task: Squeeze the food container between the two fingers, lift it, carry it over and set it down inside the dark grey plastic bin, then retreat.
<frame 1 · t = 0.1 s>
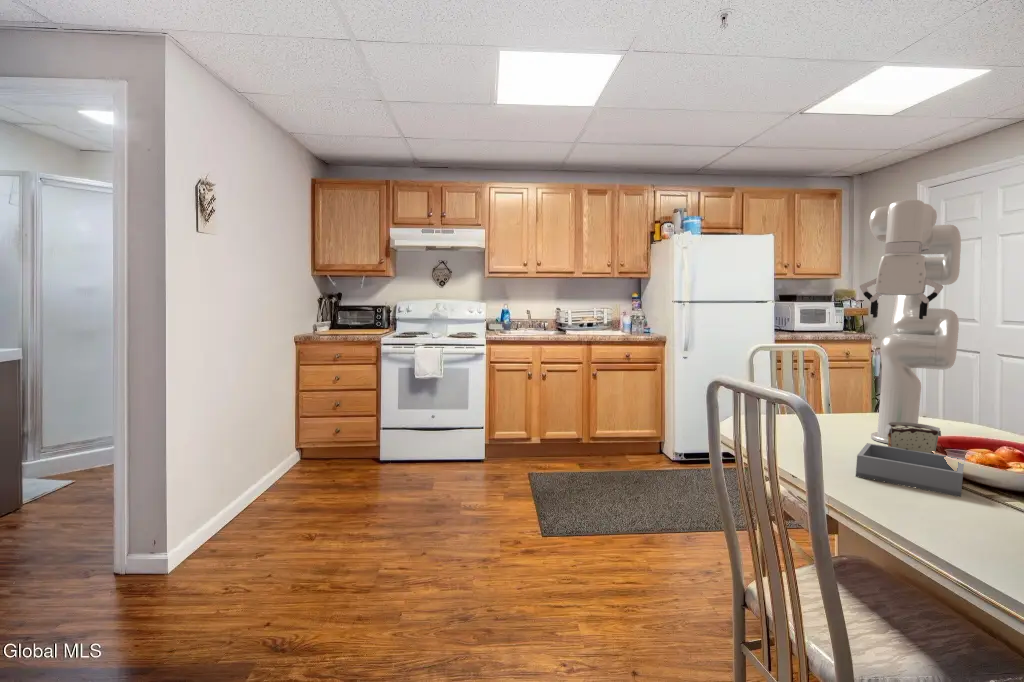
hand: (897, 318, 140), 37 cm above the table, tool pointing down, fingers open, 9 cm apart
food container: (904, 463, 139), on the table
bin: (908, 478, 127), on the table
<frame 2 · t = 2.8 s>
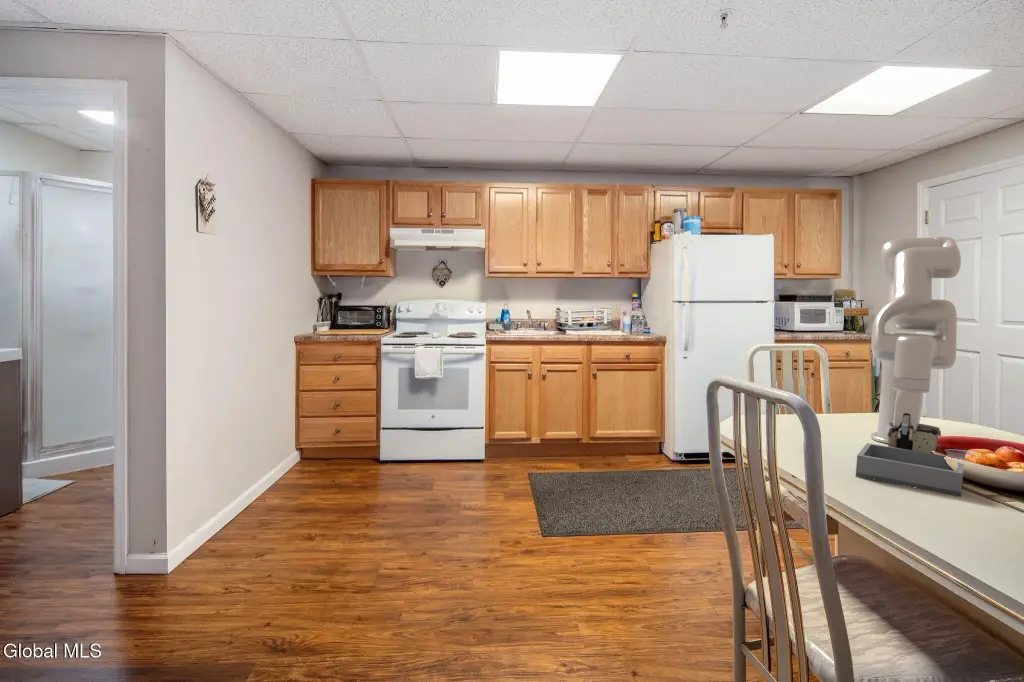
hand: (905, 451, 139), 3 cm above the table, tool pointing down, fingers open, 9 cm apart
food container: (904, 463, 139), on the table, touching gripper
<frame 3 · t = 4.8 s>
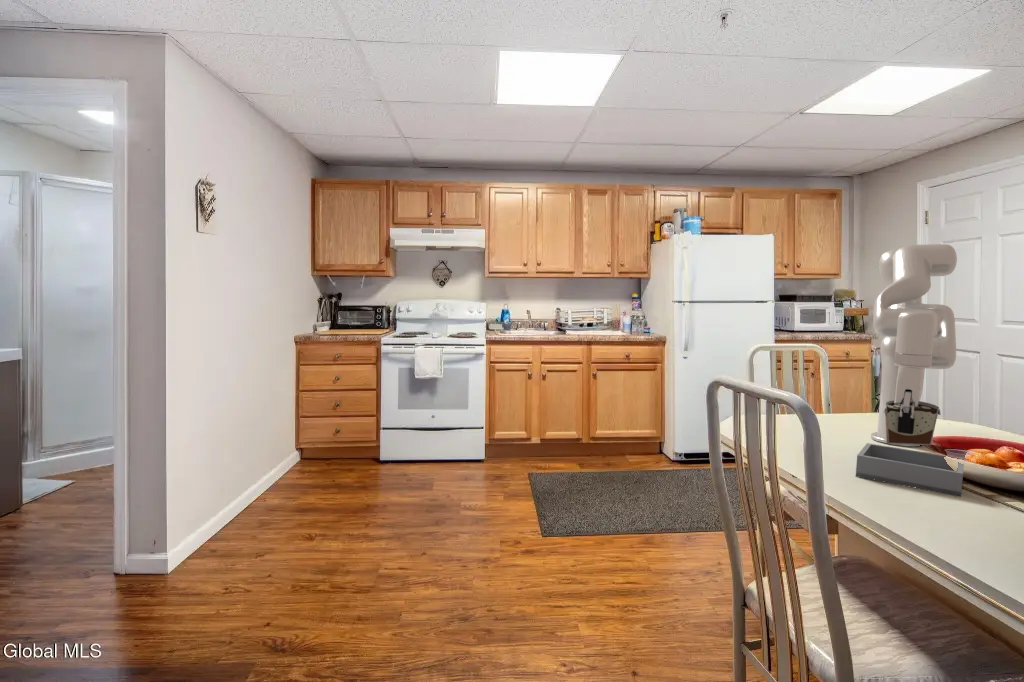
hand: (906, 429, 140), 8 cm above the table, tool pointing down, fingers closed on food container, 6 cm apart
food container: (904, 440, 141), point 5 cm above the table, touching gripper
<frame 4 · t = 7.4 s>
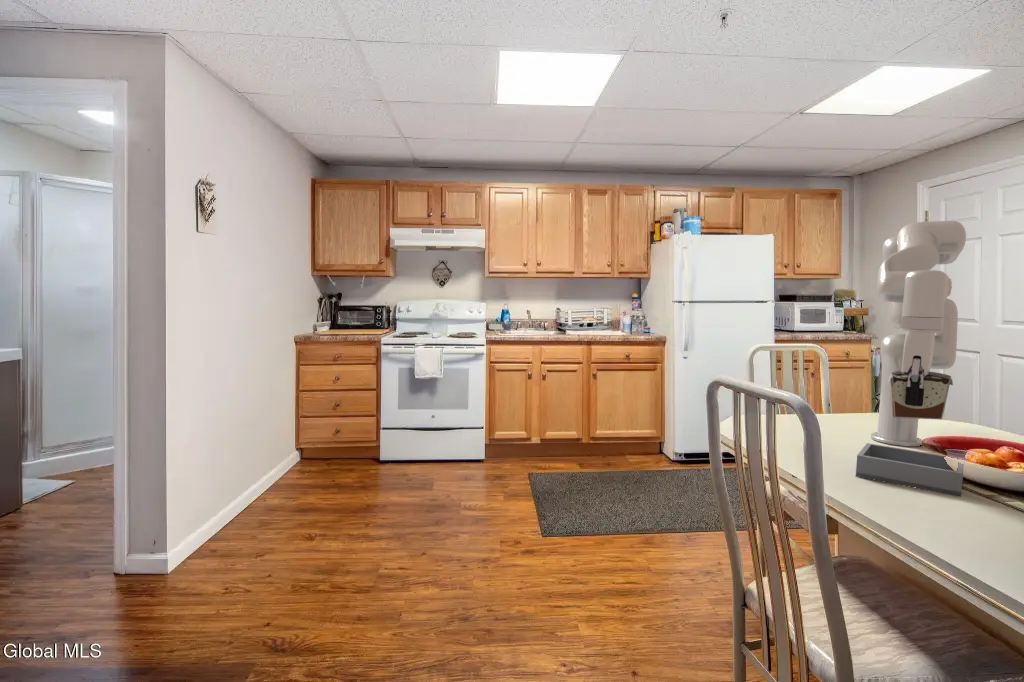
hand: (915, 402, 126), 18 cm above the table, tool pointing down, fingers closed on food container, 6 cm apart
food container: (912, 415, 127), point 14 cm above the table, touching gripper
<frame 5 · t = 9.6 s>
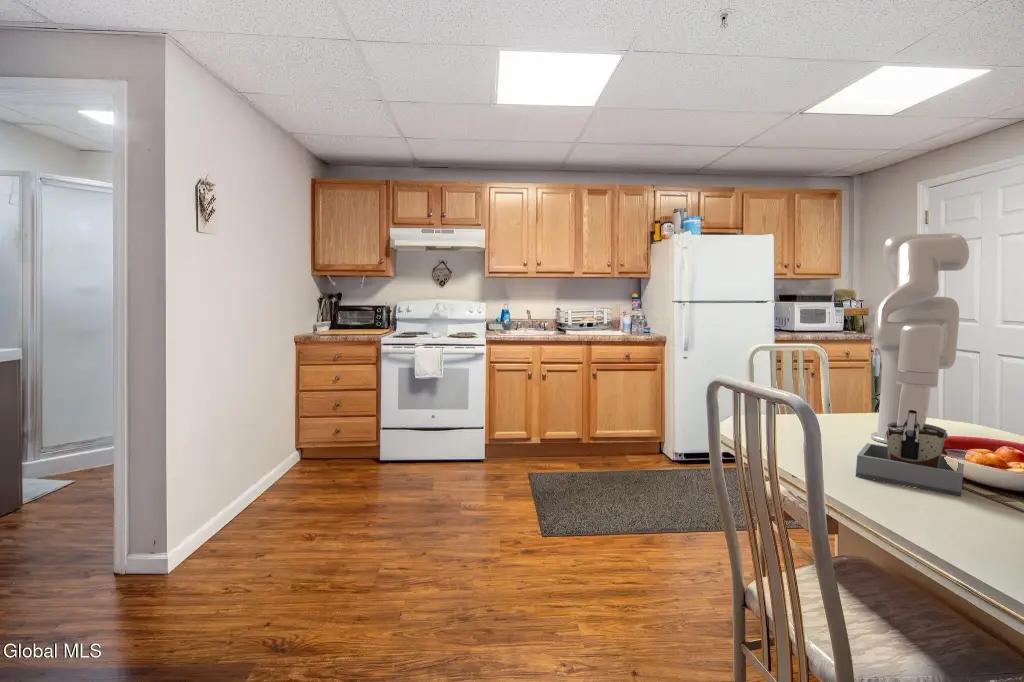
hand: (910, 454, 127), 6 cm above the table, tool pointing down, fingers closed on food container, 6 cm apart
food container: (907, 466, 128), point 2 cm above the table, touching gripper
when the fingers open (5 cm above the table, at t = 10.3 s): food container drops 1 cm, resting on bin.
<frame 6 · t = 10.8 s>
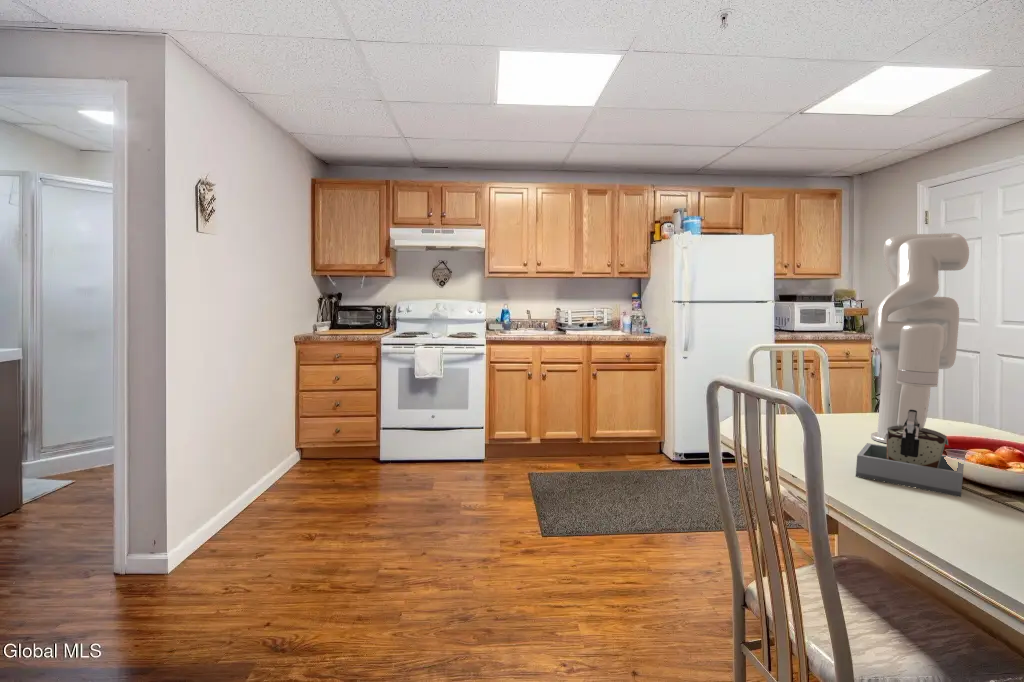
hand: (911, 451, 127), 6 cm above the table, tool pointing down, fingers open, 9 cm apart
food container: (907, 470, 129), point 1 cm above the table, touching bin, gripper
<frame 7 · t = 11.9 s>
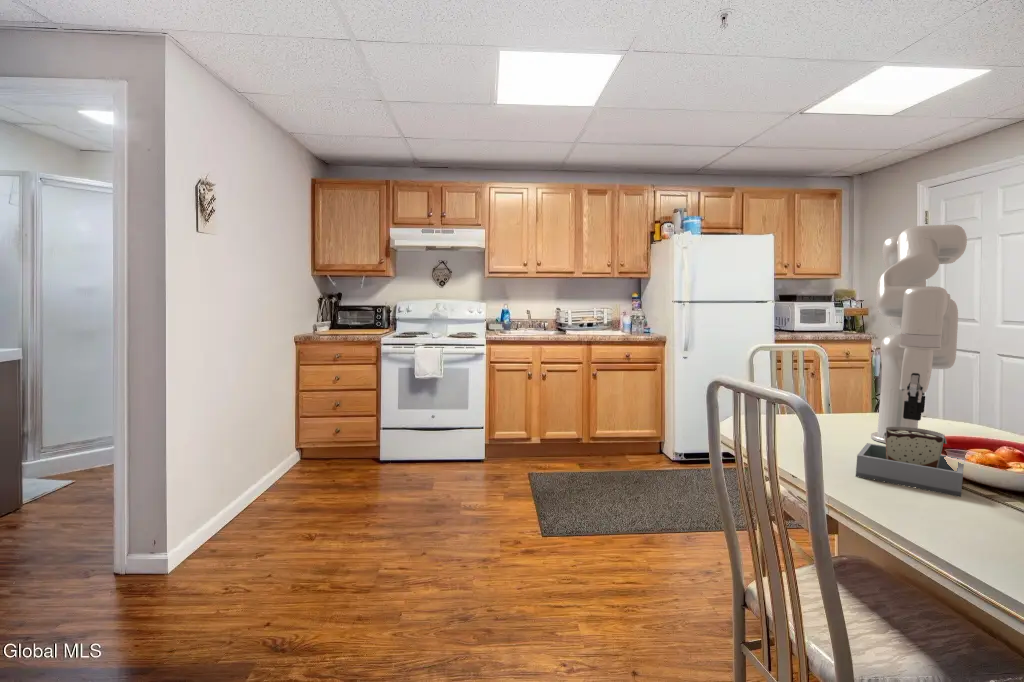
hand: (913, 415, 126), 15 cm above the table, tool pointing down, fingers open, 9 cm apart
food container: (906, 471, 129), point 1 cm above the table, touching bin
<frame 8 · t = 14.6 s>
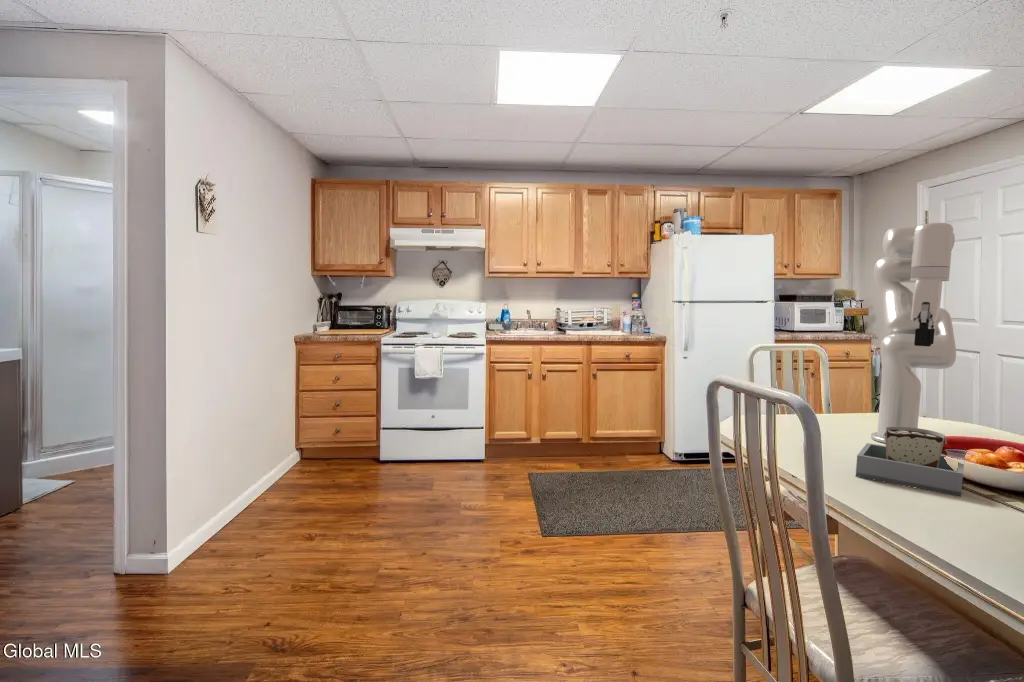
hand: (923, 344, 135), 30 cm above the table, tool pointing down, fingers open, 9 cm apart
nothing on the table moved.
at the end: food container inside the target area on the bin (2.4 cm from its centre), point 0.8 cm above the bin's base; food container tilted 0°; the gripper is holding nothing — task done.
